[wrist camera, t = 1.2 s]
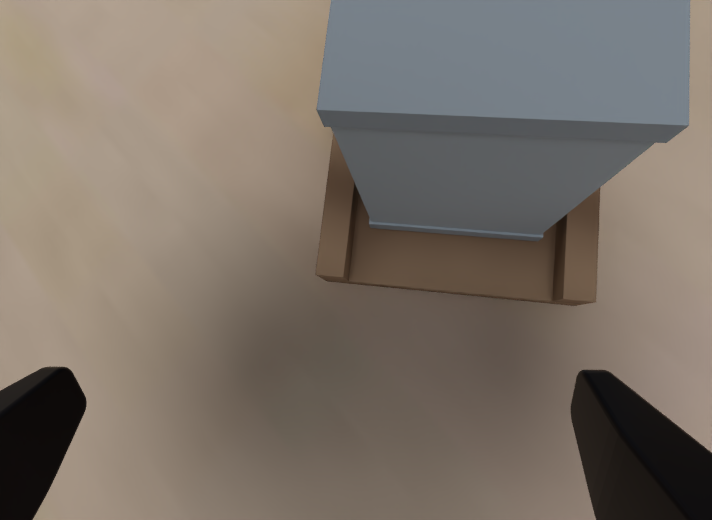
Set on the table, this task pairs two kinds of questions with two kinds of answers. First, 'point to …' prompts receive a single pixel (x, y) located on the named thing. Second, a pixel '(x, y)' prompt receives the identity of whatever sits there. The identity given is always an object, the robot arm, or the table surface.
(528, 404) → the table surface
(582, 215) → the bay
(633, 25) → the grey ledged block
